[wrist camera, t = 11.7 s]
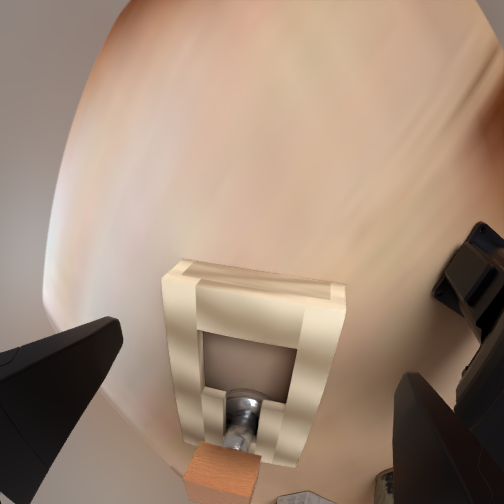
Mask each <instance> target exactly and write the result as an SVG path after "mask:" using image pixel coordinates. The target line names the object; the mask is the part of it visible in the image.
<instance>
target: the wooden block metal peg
mask: <svg viewBox="0 0 504 504" xmlns="http://www.w3.org/2000/svg"><path fill="white" fill-rule="evenodd" d="M263 400H268V401H272V400H271V399H270V398H269V397H268V396H266V395H265V394H263V393H261V392H259V391H256V390H252V389H245V388H240V389H234V390H232V391H230V392H228V393H227V394H226V422H227V423H228V424H229V428H228V431H227V433H226V436H225V438H224V441H223V444H222V446H217V445H214V444H210V443H206V442H203V441H200V443H199V445H198V447H197V449H196V452H195V454H194V456H193V458H192V460H191V462H190V465H189V467H188V469H187V471H186V473H185V475H184V478H183V482H184V484H185V488H186V491H187V494H188V497H189V500H191V501H194V502H197V503H201V504H250V503H251V499H252V496H253V493H254V489H255V486H256V482H257V478H258V473H259V468H260V463H261V458H262V456H261V455H256V454H251V453H248V452H249V449H250V446H251V443H252V439H253V436H254V433H255V432H258V426H259V419H260V412H261V407H262V403H263Z"/></svg>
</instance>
